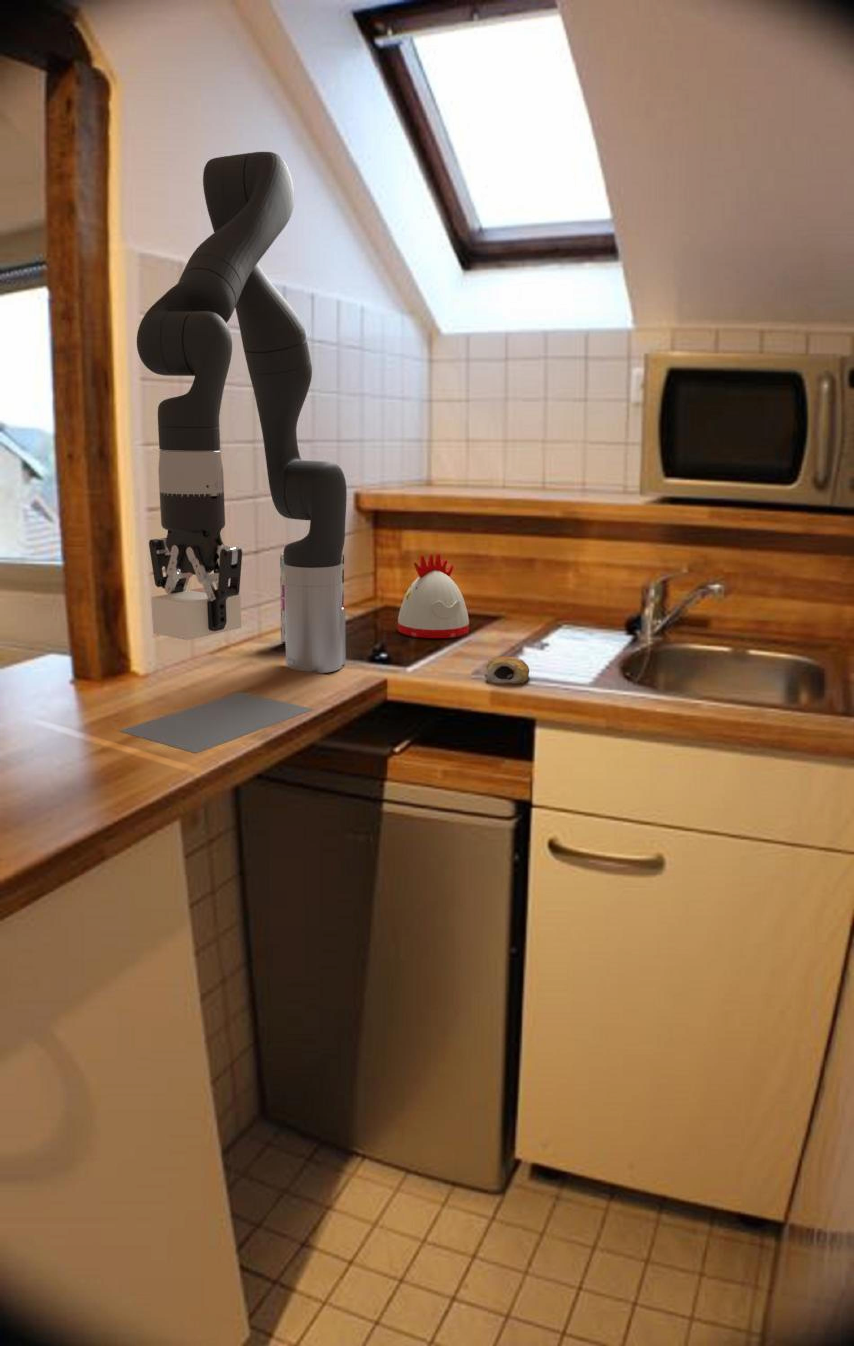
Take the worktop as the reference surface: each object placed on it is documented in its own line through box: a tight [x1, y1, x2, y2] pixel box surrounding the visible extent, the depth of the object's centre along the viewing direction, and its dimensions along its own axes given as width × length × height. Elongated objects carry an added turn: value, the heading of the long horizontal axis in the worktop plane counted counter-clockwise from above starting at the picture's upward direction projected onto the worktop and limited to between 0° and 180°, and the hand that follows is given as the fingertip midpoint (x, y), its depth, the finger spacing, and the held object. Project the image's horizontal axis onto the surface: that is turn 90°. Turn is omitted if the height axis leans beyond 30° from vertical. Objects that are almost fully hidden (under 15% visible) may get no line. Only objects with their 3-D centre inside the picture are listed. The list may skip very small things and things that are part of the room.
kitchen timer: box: [397, 553, 470, 639], centre depth 181 cm, size 14×14×15 cm
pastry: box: [484, 655, 530, 685], centre depth 150 cm, size 9×7×4 cm
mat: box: [118, 691, 315, 754], centre depth 125 cm, size 22×14×1 cm, turn 147°
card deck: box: [150, 586, 242, 641], centre depth 116 cm, size 6×9×4 cm, turn 147°
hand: (198, 625), depth 116 cm, fingers closed on card deck, 6 cm apart
